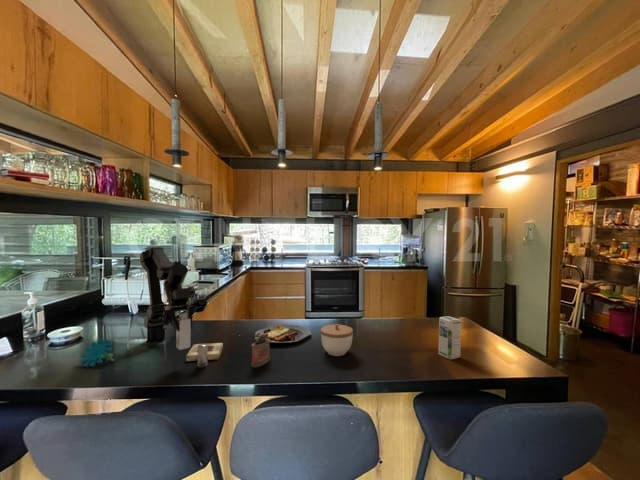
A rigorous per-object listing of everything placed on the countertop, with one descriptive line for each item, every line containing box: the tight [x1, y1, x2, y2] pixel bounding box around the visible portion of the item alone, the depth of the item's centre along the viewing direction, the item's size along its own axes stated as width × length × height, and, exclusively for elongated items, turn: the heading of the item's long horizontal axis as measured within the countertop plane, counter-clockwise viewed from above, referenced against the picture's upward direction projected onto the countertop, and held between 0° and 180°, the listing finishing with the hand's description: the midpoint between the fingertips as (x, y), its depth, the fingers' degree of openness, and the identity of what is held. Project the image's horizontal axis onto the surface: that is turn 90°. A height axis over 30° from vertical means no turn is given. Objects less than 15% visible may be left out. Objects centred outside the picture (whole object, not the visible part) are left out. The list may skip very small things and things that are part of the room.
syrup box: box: [438, 315, 462, 360], centre depth 112 cm, size 6×6×14 cm
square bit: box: [175, 311, 192, 351], centre depth 102 cm, size 4×4×12 cm
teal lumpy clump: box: [80, 338, 115, 368], centre depth 104 cm, size 11×6×10 cm
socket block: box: [185, 342, 224, 362], centre depth 112 cm, size 11×11×2 cm
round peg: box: [197, 343, 209, 368], centre depth 102 cm, size 3×3×7 cm
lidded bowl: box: [320, 323, 354, 357], centre depth 114 cm, size 13×13×11 cm
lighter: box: [251, 333, 271, 368], centre depth 104 cm, size 8×3×10 cm, turn 148°
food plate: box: [254, 324, 312, 344], centre depth 132 cm, size 25×23×4 cm
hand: (184, 329), depth 101 cm, fingers closed on square bit, 4 cm apart
